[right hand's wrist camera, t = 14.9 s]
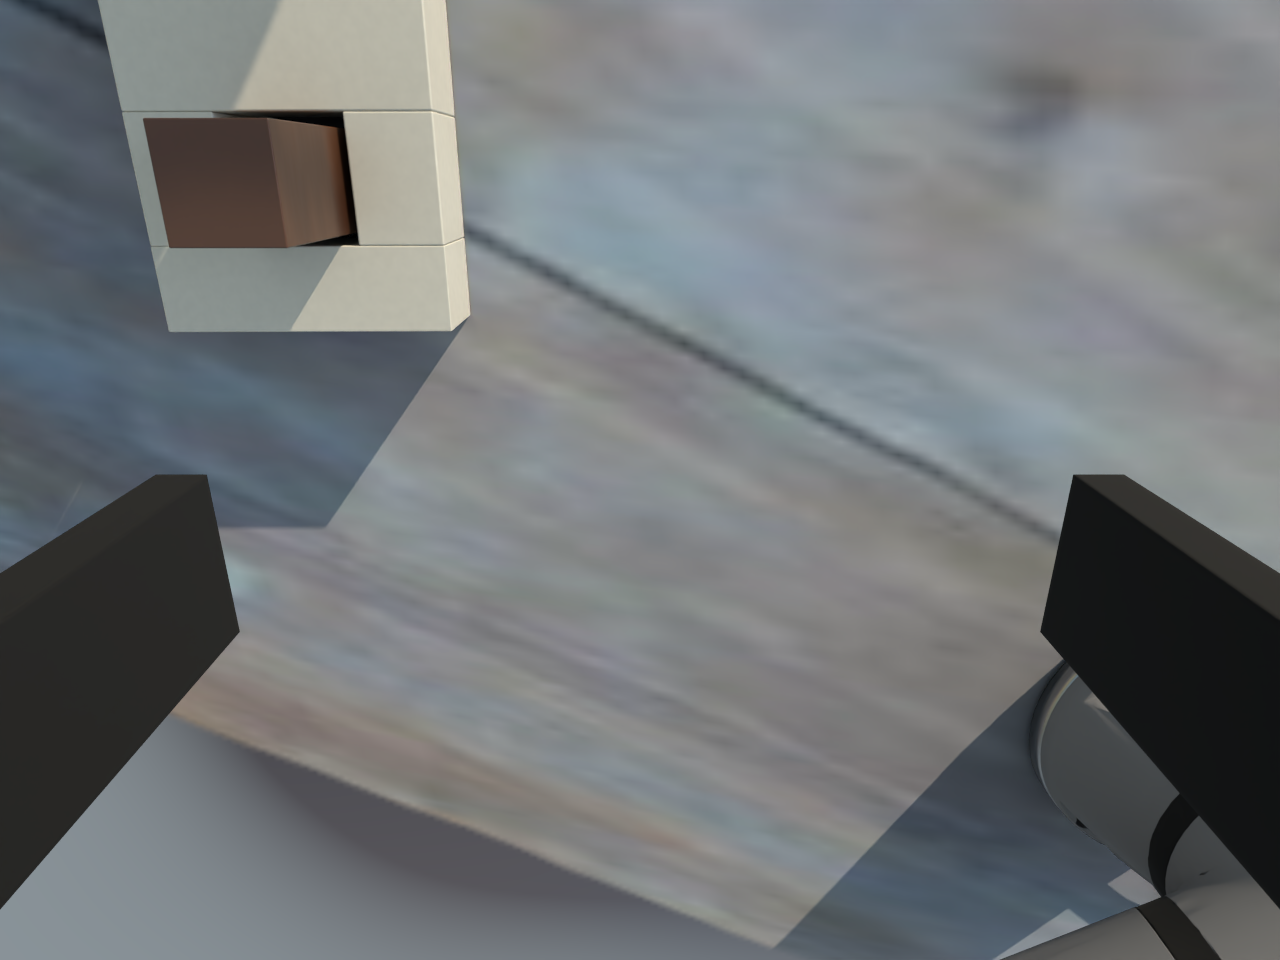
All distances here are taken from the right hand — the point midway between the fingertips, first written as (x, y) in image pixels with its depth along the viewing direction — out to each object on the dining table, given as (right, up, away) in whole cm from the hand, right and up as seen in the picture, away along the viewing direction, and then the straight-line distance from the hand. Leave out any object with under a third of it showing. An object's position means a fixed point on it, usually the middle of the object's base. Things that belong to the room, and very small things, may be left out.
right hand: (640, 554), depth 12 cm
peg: (-14, +14, +23) cm, 30 cm away
